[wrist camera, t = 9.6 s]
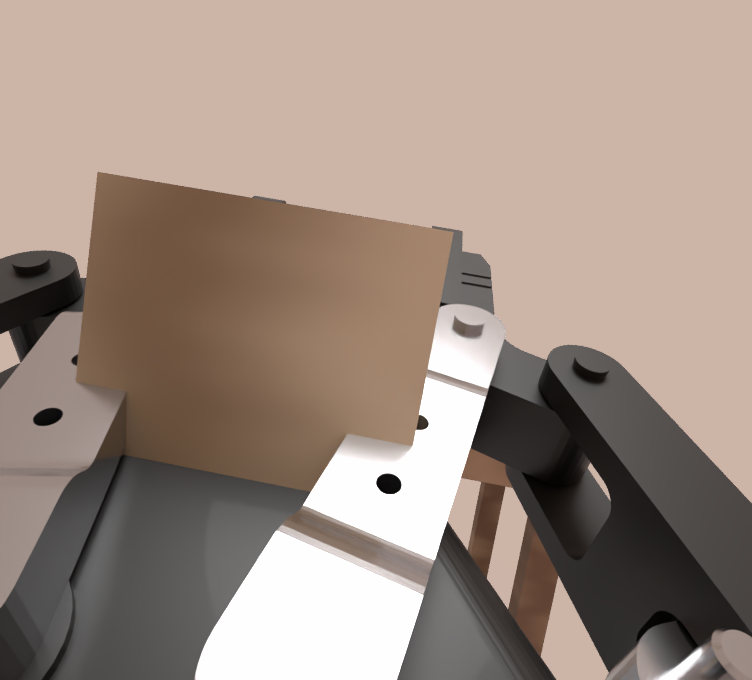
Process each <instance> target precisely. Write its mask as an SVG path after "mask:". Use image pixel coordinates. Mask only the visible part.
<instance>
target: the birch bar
mask: <svg viewBox="0 0 752 680" xmlns="http://www.w3.org/2000/svg"><path fill="white" fill-rule="evenodd" d="M453 233H454V232H451V231H445V230H439V229H433V228H426V227H421V226H415V225H409V224H403V223H397V222H391V221H386V220H379V219H373V218H368V217H362V216H356V215H350V214H343V213H338V212H332V211H326V210H320V209H314V208H308V207H303V206H297V205H291V204H285V203H279V202H273V201H267V200H261V199H255V198H249V197H243V196H237V195H231V194H225V193H220V192H214V191H208V190H202V189H196V188H190V187H184V186H178V185H172V184H166V183H160V182H154V181H148V180H142V179H137V178H131V177H124V176H118V175H113V174H107V173H101V172H98V173H97V183H96V192H95V202H94V212H93V221H92V230H91V239H90V249H89V258H88V267H87V277H86V286H85V296H84V305H83V314H82V324H81V333H80V343H79V352H78V361H77V371H76V380H75V382H81V383H86V384H91V385H96V386H101V387H107V388H112V389H117V390H122V391H127V415H126V446H125V449H124V451H123V454H122V455H127V456H132V457H138V458H143V459H148V460H153V461H158V462H163V463H168V464H173V465H178V466H183V467H188V468H193V469H198V470H203V471H208V472H213V473H218V474H223V475H228V476H233V477H238V478H243V479H248V480H253V481H258V482H264V483H269V484H274V485H279V486H284V487H289V488H294V489H299V490H304V491H309V492H312V490H313V489H314V487H315V486H316V484H317V482H318V481H319V479H320V477H321V476H322V474H323V473H324V471H325V469H326V468H327V466H328V465H329V463H330V461H331V460H332V458H333V456H334V455H335V453H336V452H337V450H338V448H339V447H340V445H341V443H342V442H343V440H344V439H345V437H346V435H347V434H352V435H357V436H362V437H368V438H373V439H378V440H383V441H388V442H394V443H399V444H404V445H409V446H413V445H414V440H415V434H416V429H417V424H418V418H419V413H420V408H421V402H422V397H423V392H424V387H425V381H426V376H427V371H428V365H429V360H430V355H431V349H432V344H433V339H434V333H435V328H436V323H437V318H438V312H439V307H440V302H441V296H442V291H443V286H444V280H445V275H446V270H447V265H448V259H449V254H450V249H451V243H452V238H453Z"/></svg>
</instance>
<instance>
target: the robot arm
mask: <svg viewBox="0 0 752 680" xmlns="http://www.w3.org/2000/svg"><path fill="white" fill-rule="evenodd" d="M252 198H255V199H261V200H267V201H273V202H279V203H285V204H286V202H285V201H282V200H276V199H271V198H264V197H258V196H254V197H252ZM432 228H433V229H439V230H445V231H451V232H454V233H453V238H452V243H451V249H450V254H449V259H448V265H447V270H446V275H445V280H444V286H443V291H442V296H441V302H440V307H439V312H438V318H437V323H436V328H435V333H434V339H433V344H432V349H431V355H430V360H429V365H428V371H427V376H426V381H425V387H424V392H423V397H422V402H421V408H420V413H419V418H418V424H417V429H416V434H415V440H414V445H413V446H409V445H404V444H399V443H394V442H388V441H383V440H378V439H373V438H368V437H362V436H357V435H352V434H347V435H346V437H345V439H344V440H343V442H342V443H341V445H340V447H339V448H338V450H337V452H336V453H335V455H334V456H333V458H332V460H331V461H330V463H329V465H328V466H327V468H326V469H325V471H324V473H323V474H322V476H321V477H320V479H319V481H318V482H317V484H316V486H315V487H314V489H313V490H312V492H309V491H304V490H299V489H294V488H289V487H284V486H279V485H274V484H269V483H264V482H258V481H253V480H248V479H243V478H238V477H233V476H228V475H223V474H218V473H213V472H208V471H203V470H198V469H193V468H188V467H183V466H178V465H173V464H168V463H163V462H158V461H153V460H148V459H143V458H138V457H132V456H127V455H122V454H123V451H124V449H125V446H126V415H127V391H122V390H117V389H112V388H107V387H101V386H96V385H91V384H86V383H81V382H75V380H76V371H77V361H78V352H79V343H80V333H81V324H82V314H83V305H84V296H85V286H86V278H80V274H79V270H78V267H77V262H76V261H75V259H74V258H73V257H72V256H70V255H68V254H65V253H61V252H56V251H30V252H23V253H18V254H15V255H11V256H8V257H5V258H2V259H0V334H2V333H4V332H6V331H9V333H10V336H11V339H12V341H13V344H14V347H15V349H16V351H17V354H18V357H19V360H20V362H21V363H20V364H17V365H15V366H13V367H11V368H9V369H7V370H5V371H3V372H1V373H0V680H556V679H555V677H554V676H553V674H552V673H551V671H550V670H549V669H548V667H547V665H546V664H545V663H544V661H543V660H542V658H541V657H540V655H539V654H538V652H537V651H536V649H535V648H534V647H533V645H532V644H531V642H530V641H529V639H528V638H527V636H526V635H525V633H524V632H523V631H522V629H521V628H520V626H519V625H518V623H517V622H516V620H515V619H514V617H513V616H512V615H511V613H510V612H509V610H508V609H507V607H506V606H505V605H504V603H503V602H502V600H501V599H500V597H499V596H498V594H497V593H496V591H495V590H494V588H493V587H492V586H491V584H490V583H489V581H488V580H487V578H486V577H485V575H484V574H483V572H482V571H481V570H480V568H479V567H478V565H477V564H476V562H475V561H474V559H473V558H472V556H471V555H470V554H469V552H468V551H467V549H466V548H465V546H464V545H463V543H462V542H461V540H460V539H459V538H458V537H457V535H456V533H455V532H454V530H453V529H452V527H451V526H450V524H449V523H448V522H447V518H448V515H449V512H450V509H451V506H452V502H453V499H454V496H455V493H456V490H457V487H458V484H459V481H460V477H461V474H462V471H463V468H464V465H465V462H466V459H467V455H468V452H469V449H470V448H471V449H473V450H475V451H478V452H480V453H482V454H484V455H486V456H488V457H491V458H493V459H495V460H497V461H499V462H501V463H504V464H505V470H506V475H507V477H508V479H509V481H510V483H511V485H512V487H513V489H514V491H515V492H516V495H517V497H518V499H519V500H520V502H521V504H522V506H523V508H524V510H525V512H526V514H527V516H528V518H529V520H530V522H531V524H532V526H533V527H534V529H535V531H536V533H537V535H538V537H539V539H540V541H541V543H542V545H543V547H544V549H545V551H546V552H547V554H548V556H549V558H550V560H551V562H552V564H553V566H554V568H555V570H556V572H557V574H558V576H559V578H560V579H561V581H562V583H563V585H564V587H565V589H566V591H567V593H568V595H569V597H570V599H571V601H572V603H573V604H574V606H575V608H576V610H577V612H578V614H579V616H580V618H581V620H582V622H583V624H584V626H585V628H586V630H587V631H588V633H589V635H590V637H591V639H592V641H593V643H594V645H595V647H596V648H597V650H598V653H599V655H600V656H601V658H602V660H603V662H604V664H605V666H606V668H607V670H608V672H609V674H608V675H607V677H606V679H605V680H752V503H751V502H750V501H749V500H748V499H747V498H746V497H745V496H744V495H743V494H742V493H741V492H740V491H739V489H738V488H737V487H736V486H735V485H734V484H733V483H732V482H731V481H730V480H729V479H728V478H727V477H726V476H725V475H724V474H723V472H721V470H720V469H719V468H718V467H717V466H716V465H715V464H714V463H713V462H712V461H711V460H710V459H709V458H708V456H707V455H706V454H705V453H704V452H702V450H701V449H700V448H699V447H698V446H697V445H696V444H695V443H694V442H693V441H692V439H690V438H689V436H688V435H687V434H686V433H685V432H684V431H683V430H682V429H681V428H680V427H679V426H678V425H677V424H676V422H675V421H674V420H673V419H672V418H671V417H670V416H669V415H668V414H667V413H666V412H665V411H664V410H663V409H662V408H661V406H660V405H659V404H658V403H657V402H656V401H655V400H654V399H653V398H652V397H651V396H650V395H649V394H648V393H647V392H646V391H645V390H644V388H643V387H642V386H641V385H640V384H639V383H638V382H637V381H636V380H635V379H634V378H633V377H632V376H631V375H630V374H629V373H628V372H627V370H626V369H625V368H624V367H623V366H622V365H621V364H620V363H618V362H617V361H616V360H614V359H613V358H611V357H610V356H608V355H606V354H604V353H602V352H599V351H596V350H594V349H591V348H588V347H583V346H577V345H564V346H560V347H557V348H555V349H553V350H552V351H551V352H550V354H549V355H548V358H547V360H545V359H542V358H539V357H536V356H534V355H532V354H529V353H527V352H524V351H522V350H520V349H518V348H516V347H514V346H513V345H511V344H510V343H509V342H507V341H506V340H505V339H504V338H505V334H506V330H505V327H504V325H503V323H502V322H501V321H500V320H499V319H498V318H497V317H496V316H494V306H493V293H492V282H491V270H490V265H489V264H488V263H487V262H486V261H485V259H484V258H483V257H482V256H481V255H479V254H473V253H468V252H462V231H459V230H453V229H447V228H441V227H435V226H432ZM590 462H591V464H592V465H593V466H594V468H595V469H596V471H597V472H598V473H599V475H600V477H601V478H602V479H603V481H604V483H605V484H606V486H607V488H608V491H609V494H610V498H611V502H610V500H609V499H608V497H607V496H606V495H605V493H604V492H603V490H602V489H601V488H600V486H599V484H598V483H597V482H596V480H595V478H594V477H593V476H592V474H591V473H590V471H589V470H588V466H589V464H590Z"/></svg>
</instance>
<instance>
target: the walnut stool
mask: <svg viewBox="0 0 752 680" xmlns="http://www.w3.org/2000/svg"><path fill="white" fill-rule="evenodd" d="M460 478H465V479H470V480H475V481H480V482H481V486H480V491H479V496H478V501H477V506H476V511H475V516H474V521H473V527H472V532H471V537H470V541H469V547H468V552H469V554H470V555H471V556H472V558H473V559H474V561H475V562H476V564H477V565H478V567H479V568H480V570H481V571H482V572H483V574H484V575H485V577H486V578H487V573H488V569H489V564H490V559H491V554H492V549H493V544H494V540H495V535H496V530H497V525H498V520H499V515H500V510H501V505H502V500H503V495H504V491H505V486H506V487H511V488H513V487H512V485H511V483H510V481H509V479H508V477H507V475H506V470H505V464H504V463H501V462H499V461H497V460H495V459H493V458H491V457H488V456H486V455H484V454H482V453H480V452H478V451H475V450H473V449H471V448H470V449H469V452H468V455H467V459H466V462H465V465H464V468H463V471H462V474H461V477H460ZM557 579H558V574H557V572H556V570H555V568H554V566H553V564H552V562H551V560H550V558H549V556H548V554H547V552H546V551H545V549H544V547H543V545H542V543H541V541H540V539H539V537H538V535H537V533H536V531H535V529H534V527H533V526H532V524H531V522H530V520H529V518H527V523H526V527H525V532H524V537H523V542H522V546H521V552H520V556H519V561H518V566H517V570H516V575H515V580H514V585H513V589H512V594H511V599H510V604H509V608H508V610H509V612H510V613H511V615H512V616H513V617H514V619H515V620H516V622H517V623H518V625H519V626H520V628H521V629H522V631H523V632H524V633H525V635H526V636H527V638H528V639H529V641H530V642H531V644H532V645H533V647H534V648H535V649H536V651H537V652H538V654H539V655H540V657H541V652H542V647H543V643H544V638H545V633H546V629H547V624H548V620H549V615H550V611H551V606H552V602H553V597H554V592H555V588H556V583H557Z"/></svg>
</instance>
